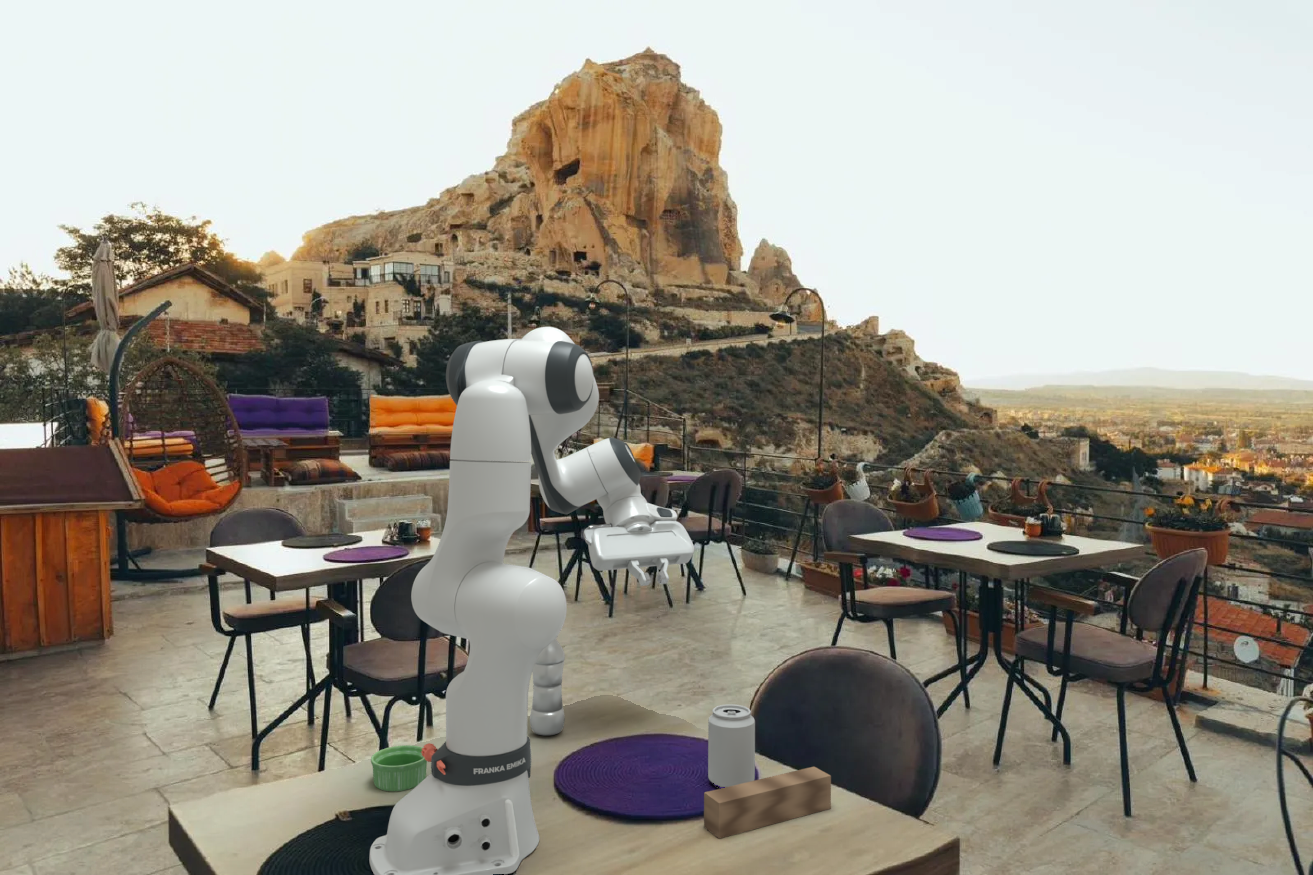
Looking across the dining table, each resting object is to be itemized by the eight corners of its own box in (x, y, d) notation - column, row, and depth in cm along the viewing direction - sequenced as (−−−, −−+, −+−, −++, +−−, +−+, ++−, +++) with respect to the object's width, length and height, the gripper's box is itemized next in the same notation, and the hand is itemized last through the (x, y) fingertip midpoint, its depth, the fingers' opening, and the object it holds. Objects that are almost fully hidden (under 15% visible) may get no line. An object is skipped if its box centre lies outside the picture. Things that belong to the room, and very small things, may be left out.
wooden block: (719, 838, 121) (719, 803, 121) (703, 827, 125) (704, 792, 125) (830, 808, 131) (830, 775, 131) (813, 798, 134) (814, 766, 134)
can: (754, 774, 144) (754, 702, 143) (755, 793, 136) (755, 717, 136) (709, 772, 144) (709, 701, 144) (707, 791, 137) (707, 716, 137)
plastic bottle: (552, 724, 167) (552, 621, 167) (571, 734, 162) (572, 627, 162) (523, 732, 163) (523, 626, 163) (542, 742, 158) (542, 633, 157)
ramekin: (358, 789, 138) (358, 761, 138) (393, 768, 146) (393, 742, 146) (407, 797, 135) (407, 769, 135) (439, 775, 143) (439, 748, 143)
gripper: (585, 515, 158) (608, 577, 149) (682, 510, 167) (709, 568, 159) (575, 536, 162) (597, 598, 153) (671, 530, 171) (696, 588, 163)
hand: (655, 583), depth 156 cm, fingers open, 2 cm apart
